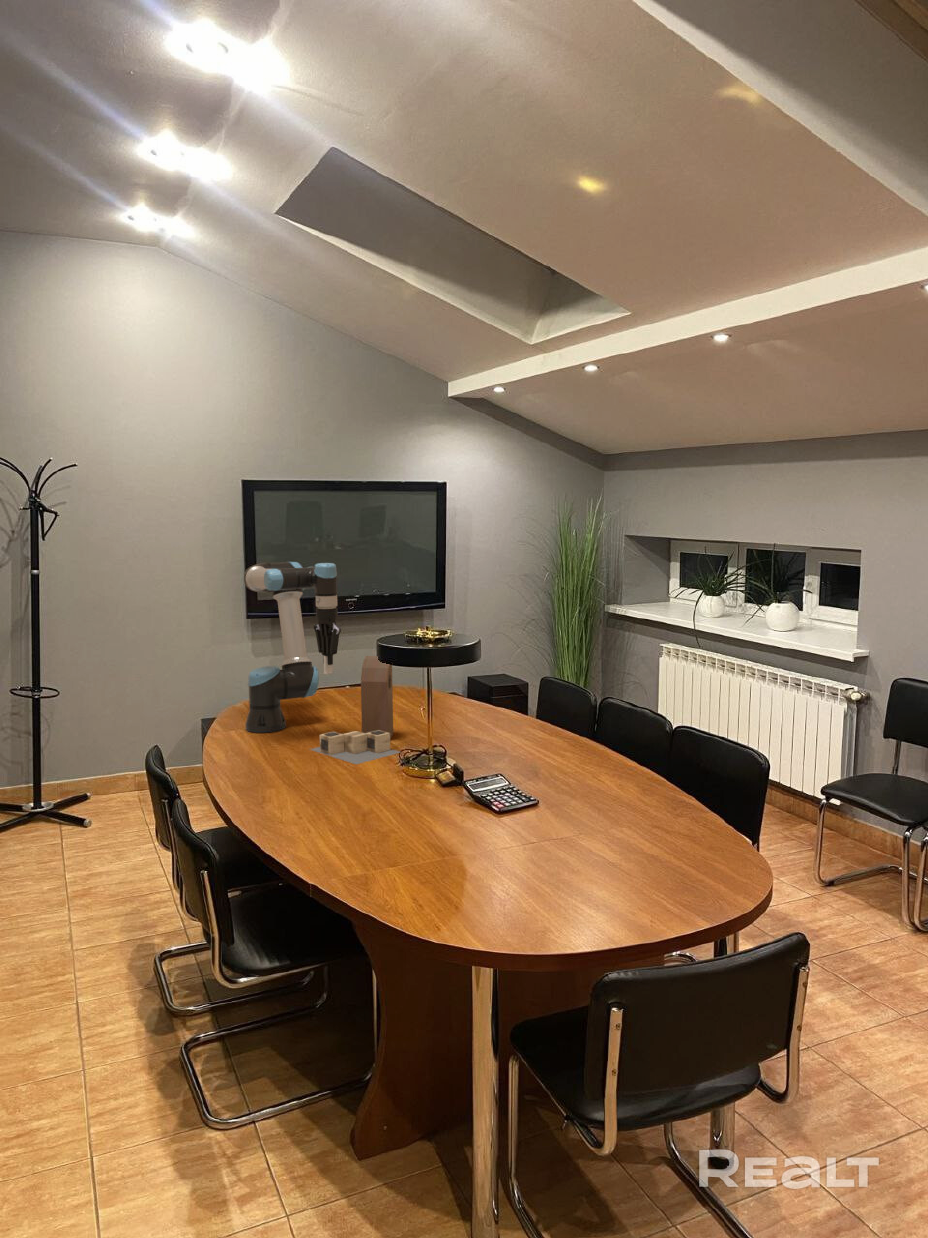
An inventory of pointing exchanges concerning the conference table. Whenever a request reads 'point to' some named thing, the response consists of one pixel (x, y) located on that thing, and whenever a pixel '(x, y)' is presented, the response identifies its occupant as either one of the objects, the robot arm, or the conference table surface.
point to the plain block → (355, 742)
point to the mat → (359, 755)
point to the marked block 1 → (331, 743)
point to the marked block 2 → (378, 741)
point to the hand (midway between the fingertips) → (328, 673)
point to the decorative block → (376, 696)
